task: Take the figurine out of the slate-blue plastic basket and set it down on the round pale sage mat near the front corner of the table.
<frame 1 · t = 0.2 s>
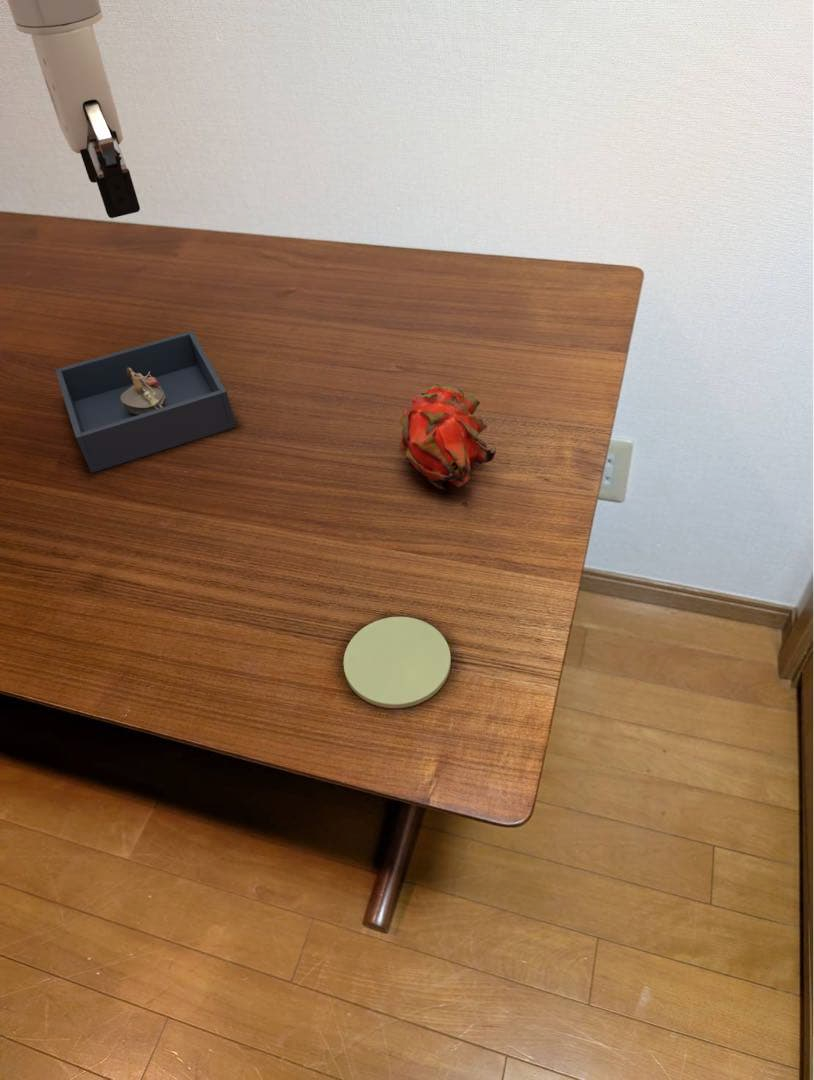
hand: (114, 195, 85), 19 cm above the table, tool pointing down, fingers open, 9 cm apart
basket: (150, 415, 90), on the table
mat: (397, 662, 65), on the table
dragon fruit: (445, 468, 81), on the table
figurine: (149, 412, 90), resting in basket
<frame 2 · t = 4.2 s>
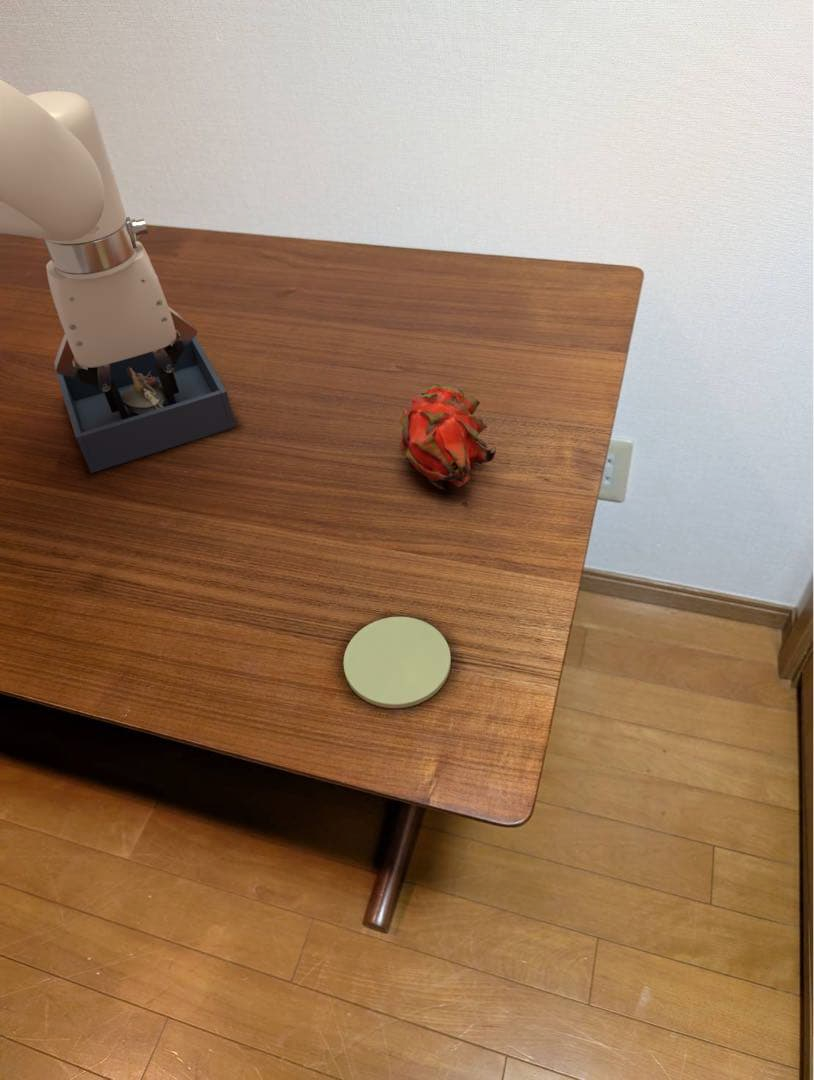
hand: (146, 405, 89), 1 cm above the table, tool pointing down, fingers closed on figurine, 4 cm apart
figurine: (150, 412, 90), resting in basket, touching gripper
everything else where it was.
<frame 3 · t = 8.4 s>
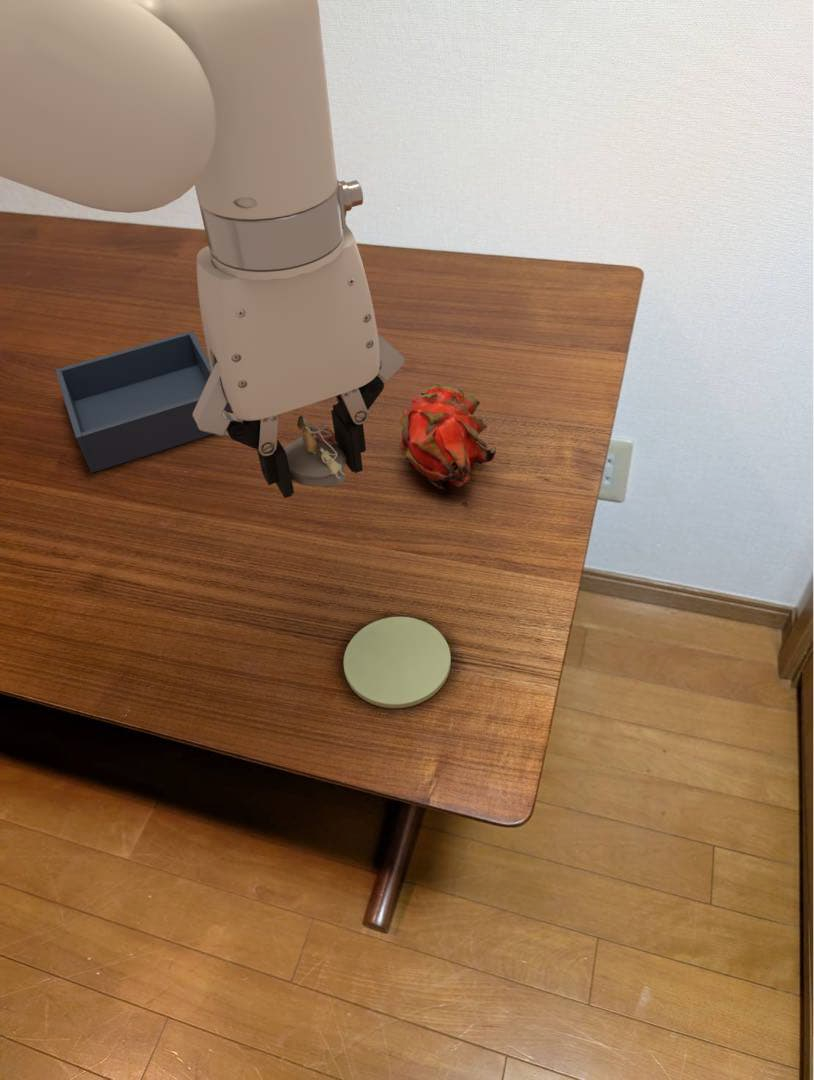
hand: (316, 471, 59), 15 cm above the table, tool pointing down, fingers closed on figurine, 4 cm apart
figurine: (319, 480, 59), point 14 cm above the table, touching gripper
everything else where it was.
when the fingers open (1 cm above the table, at t = 12.6 s): figurine stays where it is, resting on mat.
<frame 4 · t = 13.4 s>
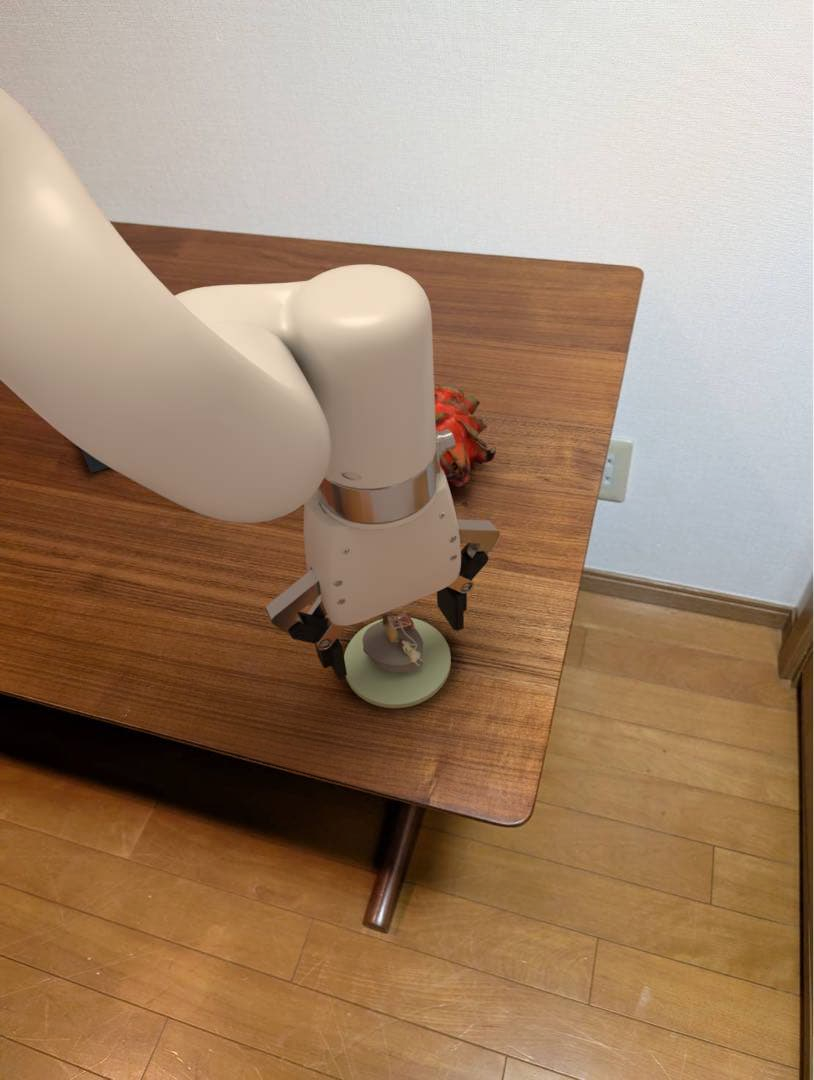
hand: (394, 640, 63), 3 cm above the table, tool pointing down, fingers open, 9 cm apart
figurine: (397, 659, 65), resting on mat
everything else where it was.
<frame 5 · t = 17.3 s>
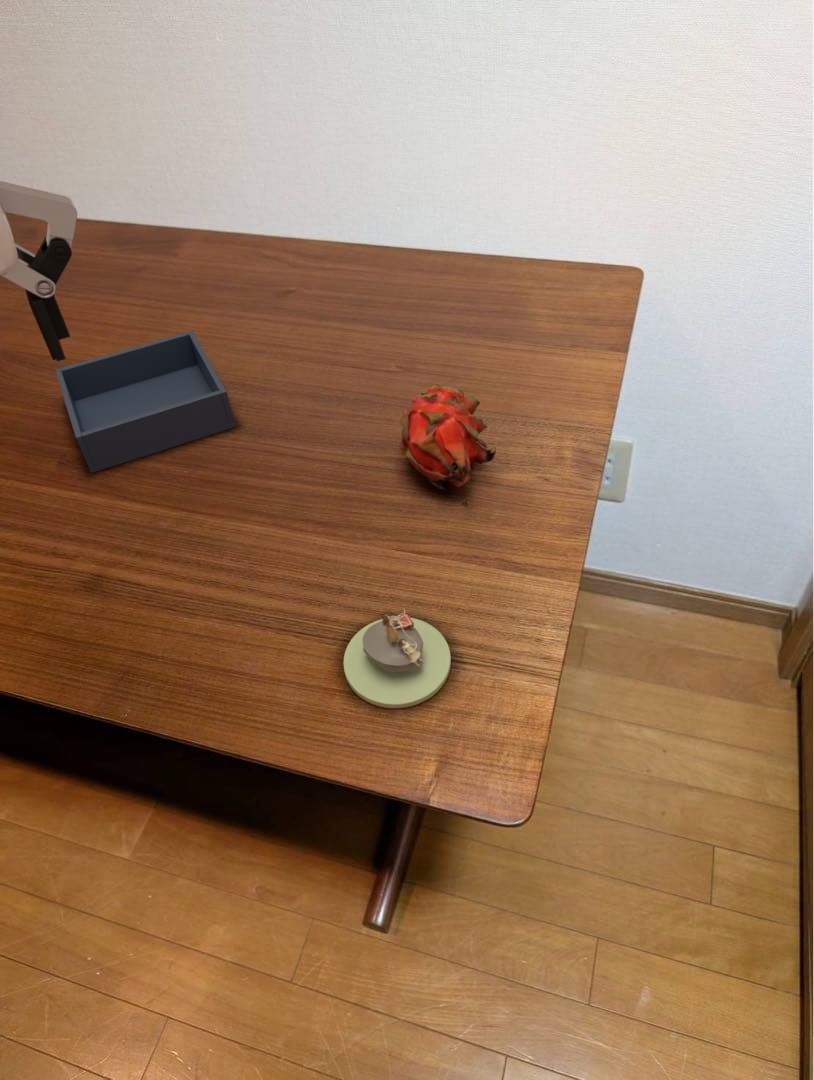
nothing on the table moved.
at the end: figurine 0.0 cm off-centre on the mat, point 0.4 cm above the mat's base; figurine touching mat; the gripper is holding nothing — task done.
